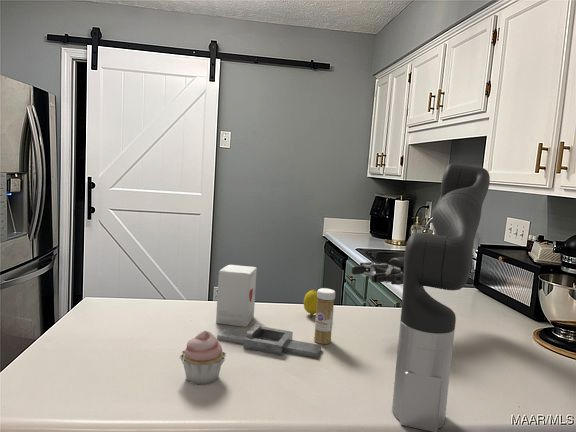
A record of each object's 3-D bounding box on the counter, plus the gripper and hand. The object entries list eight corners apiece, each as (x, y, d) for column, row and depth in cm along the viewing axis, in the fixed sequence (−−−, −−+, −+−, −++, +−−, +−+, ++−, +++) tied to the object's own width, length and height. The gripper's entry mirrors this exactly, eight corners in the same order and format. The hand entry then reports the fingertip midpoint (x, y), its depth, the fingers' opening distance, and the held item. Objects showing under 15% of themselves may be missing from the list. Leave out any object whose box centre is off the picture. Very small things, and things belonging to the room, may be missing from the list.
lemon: (299, 315, 125) (301, 289, 124) (307, 310, 130) (309, 286, 129) (316, 319, 122) (318, 293, 121) (323, 314, 127) (325, 289, 126)
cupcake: (179, 391, 78) (181, 340, 77) (178, 368, 87) (179, 322, 86) (228, 387, 81) (231, 338, 80) (222, 365, 90) (224, 321, 89)
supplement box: (246, 327, 113) (249, 273, 111) (215, 323, 114) (217, 270, 112) (254, 316, 121) (257, 266, 120) (225, 313, 123) (227, 263, 121)
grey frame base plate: (314, 362, 94) (315, 347, 94) (212, 342, 101) (213, 329, 101) (323, 346, 103) (324, 333, 103) (229, 329, 110) (229, 317, 110)
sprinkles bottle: (311, 342, 105) (315, 290, 104) (316, 336, 110) (320, 286, 108) (329, 346, 104) (333, 293, 102) (333, 339, 108) (337, 289, 107)
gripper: (390, 252, 124) (347, 255, 116) (427, 263, 112) (381, 266, 104) (388, 276, 125) (345, 281, 117) (424, 290, 113) (378, 295, 105)
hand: (362, 274), depth 111 cm, fingers open, 8 cm apart
